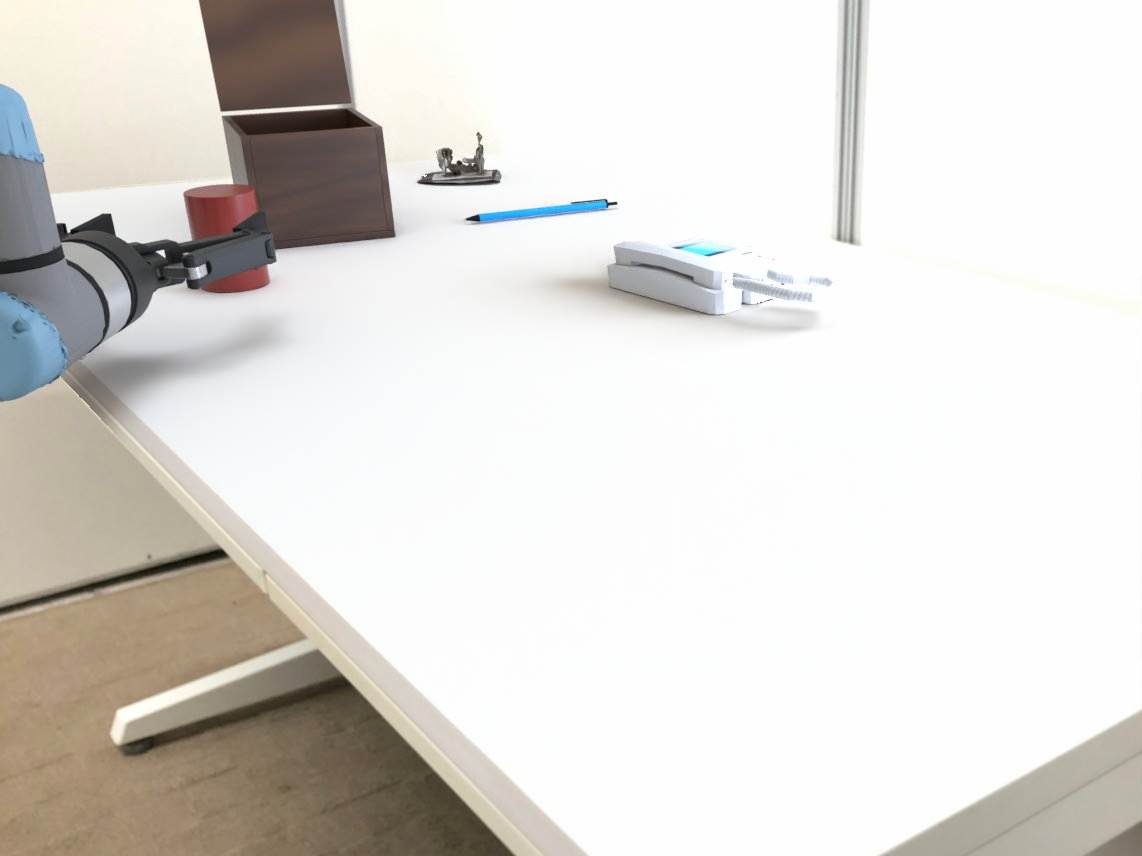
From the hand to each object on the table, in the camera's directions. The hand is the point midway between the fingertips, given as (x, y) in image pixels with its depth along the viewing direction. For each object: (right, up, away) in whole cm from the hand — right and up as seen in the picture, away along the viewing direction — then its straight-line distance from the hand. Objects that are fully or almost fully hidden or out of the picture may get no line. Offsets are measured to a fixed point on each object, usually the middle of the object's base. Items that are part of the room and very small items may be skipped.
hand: (187, 228), depth 116 cm
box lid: (-4, +31, +32) cm, 45 cm away
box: (+1, +8, +33) cm, 34 cm away
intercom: (+50, -5, +7) cm, 50 cm away
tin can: (0, -3, +12) cm, 12 cm away
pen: (+26, +11, +39) cm, 48 cm away
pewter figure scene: (+11, +21, +60) cm, 65 cm away
